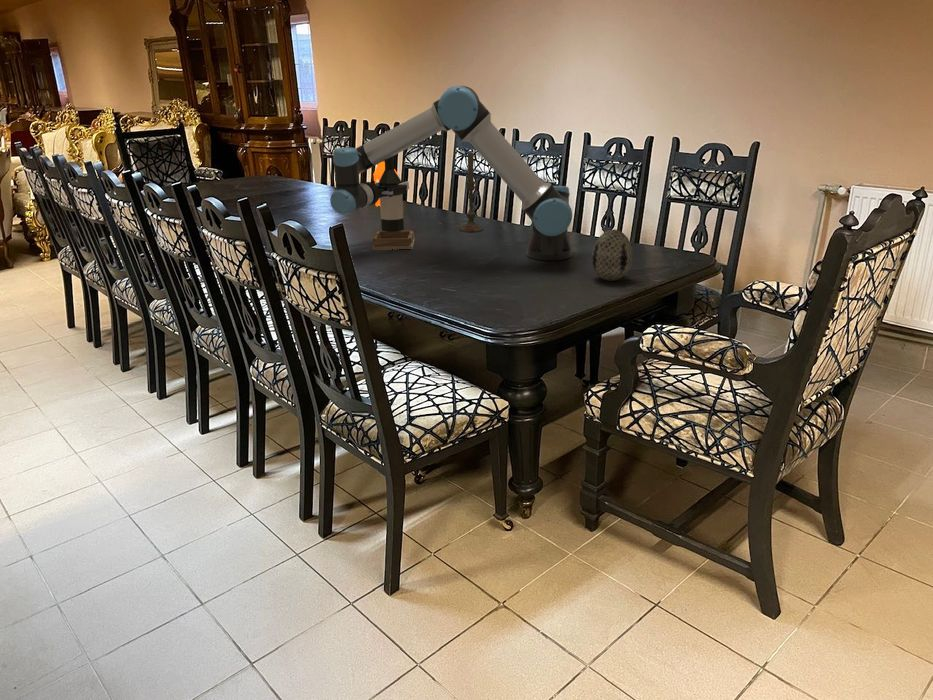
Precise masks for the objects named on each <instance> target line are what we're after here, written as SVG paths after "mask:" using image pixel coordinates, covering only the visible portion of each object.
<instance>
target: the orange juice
mask: <svg viewBox="0 0 933 700" xmlns="http://www.w3.org/2000/svg"><path fill="white" fill-rule="evenodd" d="M384 170H385V161H383V162H381V163H379V164H377V165H376V168H375V170H374V172H373V181H375V184H376V183H377V182H379V180H380V178H381V176H382V174H383V172H384ZM394 170H395V172H396V173H397V175H398V176H399V173H398V172H397V171H396V169H395V168H394ZM374 205H375V207H378V206H380V198H379V200H378V201H377V202H376V203H375V204H374Z"/></svg>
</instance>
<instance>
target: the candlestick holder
mask: <svg viewBox="0 0 933 700" xmlns="http://www.w3.org/2000/svg"><path fill="white" fill-rule="evenodd" d="M474 170H475V169H474V152H471V151H469V152H467V181H465V184H466V190H467V191H468V197H467V198H468V207H469V209H468V212H466V217H467V219H468V222H467V223H465V224H463V225H462V226H461V227H460V228H459V231H460V232H462V231H463V233H479V231H480V232H482V231H484V229H483V227H482V226H480V225H479V224H478V223H476V222H475V220H474V219H475V218H476V212H474V198H475V197H474V190H476V186H475V185H476V183H477V181H475V180H474V174H475V173H474Z"/></svg>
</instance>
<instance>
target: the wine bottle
mask: <svg viewBox="0 0 933 700" xmlns="http://www.w3.org/2000/svg"><path fill="white" fill-rule="evenodd" d="M383 162H385V170H384V172H383V174H382V176H381V178H380V180H379V186H387V187H388V186H395V185H398V184H400V183H403V182H402V180H401V179H400V176H399V174H398V172H397V171H396V169H395V155H394V156H392V157H390V158H388V159H386V160H384V161H383ZM394 169H395V170H394ZM395 171H396V172H397V173H396V172H395ZM397 174H398V175H397ZM403 199H404V198H403V194H399V195H395V196H392V197H389V196H388V195H387V196H385V197H381V198H380V207H379V208H380V226H381V227H380V228H381V231H387V232H395V231H405V225H404V224H405V223H404V201H403Z"/></svg>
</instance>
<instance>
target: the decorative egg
mask: <svg viewBox="0 0 933 700" xmlns="http://www.w3.org/2000/svg"><path fill="white" fill-rule="evenodd" d="M633 257H634V256H633V248H632V245H631V242H630V240H629V238H628V237H627V236H626V234H625V233H624V232H622V231H621V230H618V229H609V230H606V231H604V232H603V233H602V234H601V235H599V237H598V238H597V239H596V241H595V243H594V246H593V249H592V252H591V265H592V269H593V271H594V273H595V274H596V276H598V277H599V278H600V279H602V280H604V281H608V282H613V281H618V280H620V279H622V278H624V276H626V275H627V274H628V272H629V271H630V269H631V266H632V263H633Z"/></svg>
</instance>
